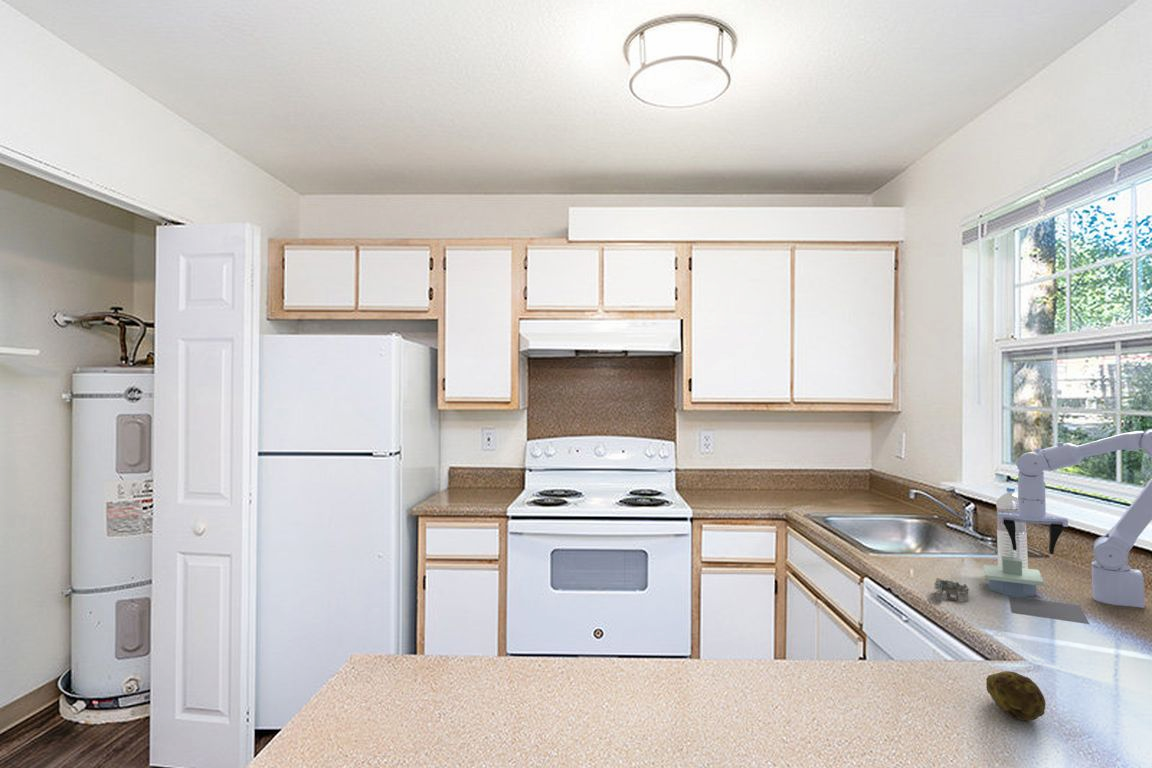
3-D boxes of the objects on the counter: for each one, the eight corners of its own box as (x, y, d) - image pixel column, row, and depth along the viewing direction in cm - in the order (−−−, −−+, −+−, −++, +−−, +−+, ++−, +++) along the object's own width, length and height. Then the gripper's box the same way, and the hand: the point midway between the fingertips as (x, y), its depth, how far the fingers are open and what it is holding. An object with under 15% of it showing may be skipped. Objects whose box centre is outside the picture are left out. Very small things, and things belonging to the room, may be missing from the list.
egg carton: (968, 608, 150) (968, 591, 150) (933, 602, 154) (932, 586, 155) (970, 595, 159) (969, 579, 159) (936, 590, 163) (936, 575, 163)
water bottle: (1033, 581, 169) (1030, 489, 169) (1005, 580, 170) (1002, 489, 171) (1020, 574, 176) (1018, 486, 176) (993, 573, 177) (991, 485, 177)
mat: (1080, 608, 148) (1079, 605, 148) (1089, 627, 136) (1089, 623, 136) (1008, 598, 155) (1008, 595, 155) (1011, 616, 144) (1011, 612, 144)
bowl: (1033, 591, 161) (1033, 574, 162) (1037, 602, 153) (1036, 584, 153) (988, 585, 167) (988, 568, 167) (989, 595, 158) (989, 578, 158)
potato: (1049, 709, 101) (1048, 660, 102) (1045, 744, 92) (1043, 689, 92) (989, 694, 107) (987, 648, 107) (978, 726, 97) (976, 674, 97)
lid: (1038, 573, 162) (1038, 556, 162) (1043, 586, 152) (1043, 567, 152) (983, 567, 168) (983, 550, 168) (985, 579, 158) (984, 561, 158)
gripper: (998, 498, 162) (999, 551, 161) (1069, 503, 154) (1070, 558, 154) (997, 494, 168) (998, 545, 167) (1065, 499, 160) (1066, 552, 160)
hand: (1032, 551), depth 161 cm, fingers open, 7 cm apart
